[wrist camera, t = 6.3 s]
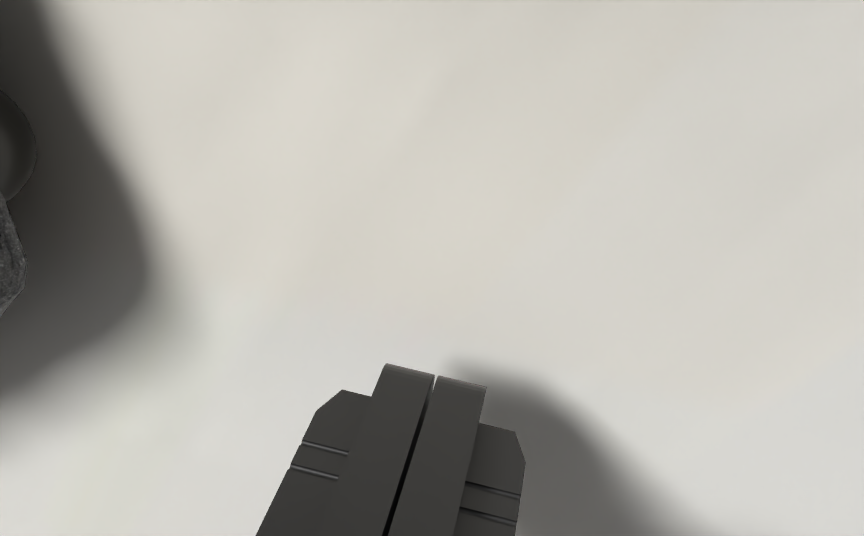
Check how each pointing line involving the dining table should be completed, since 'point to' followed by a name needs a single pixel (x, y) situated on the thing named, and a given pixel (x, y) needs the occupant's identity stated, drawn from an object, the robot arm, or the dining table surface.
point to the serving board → (3, 178)
